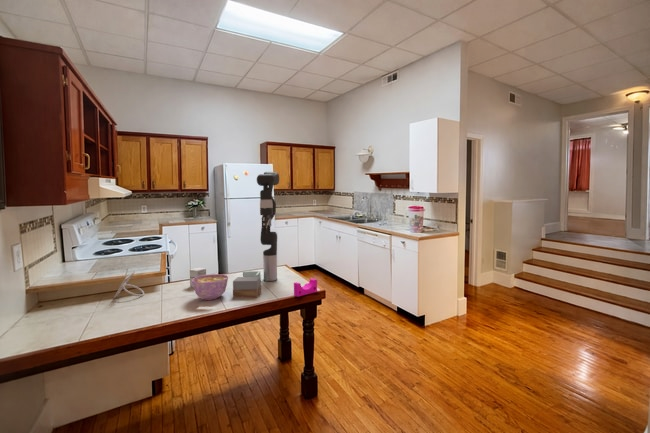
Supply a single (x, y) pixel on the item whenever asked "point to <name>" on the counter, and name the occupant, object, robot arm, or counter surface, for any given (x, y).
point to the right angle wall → (251, 274)
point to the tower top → (246, 283)
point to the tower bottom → (247, 293)
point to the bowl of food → (210, 286)
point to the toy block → (305, 288)
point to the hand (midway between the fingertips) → (266, 233)
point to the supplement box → (196, 274)
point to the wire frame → (128, 285)
